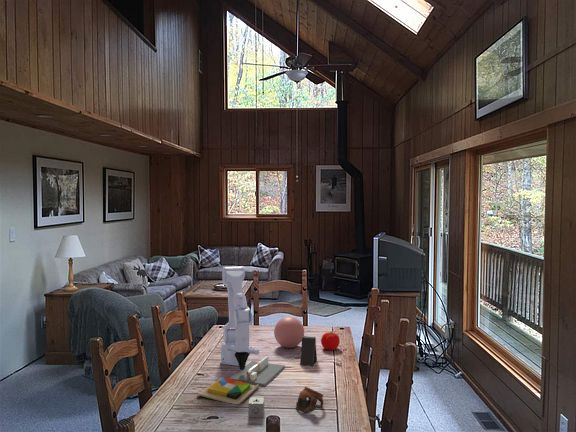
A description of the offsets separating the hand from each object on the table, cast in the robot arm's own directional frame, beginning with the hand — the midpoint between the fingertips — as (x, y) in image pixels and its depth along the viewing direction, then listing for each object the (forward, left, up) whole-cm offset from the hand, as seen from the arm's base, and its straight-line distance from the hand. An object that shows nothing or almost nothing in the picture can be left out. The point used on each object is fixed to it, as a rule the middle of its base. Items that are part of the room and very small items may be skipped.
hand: (242, 369), depth 191 cm
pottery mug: (+36, -19, -4) cm, 41 cm away
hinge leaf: (+5, 0, -2) cm, 5 cm away
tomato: (+25, +49, -3) cm, 55 cm away
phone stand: (+21, +26, -3) cm, 34 cm away
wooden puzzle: (+2, -16, -4) cm, 17 cm away
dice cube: (+20, -29, -3) cm, 35 cm away
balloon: (+4, +46, -3) cm, 46 cm away
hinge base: (+5, +5, -3) cm, 8 cm away
